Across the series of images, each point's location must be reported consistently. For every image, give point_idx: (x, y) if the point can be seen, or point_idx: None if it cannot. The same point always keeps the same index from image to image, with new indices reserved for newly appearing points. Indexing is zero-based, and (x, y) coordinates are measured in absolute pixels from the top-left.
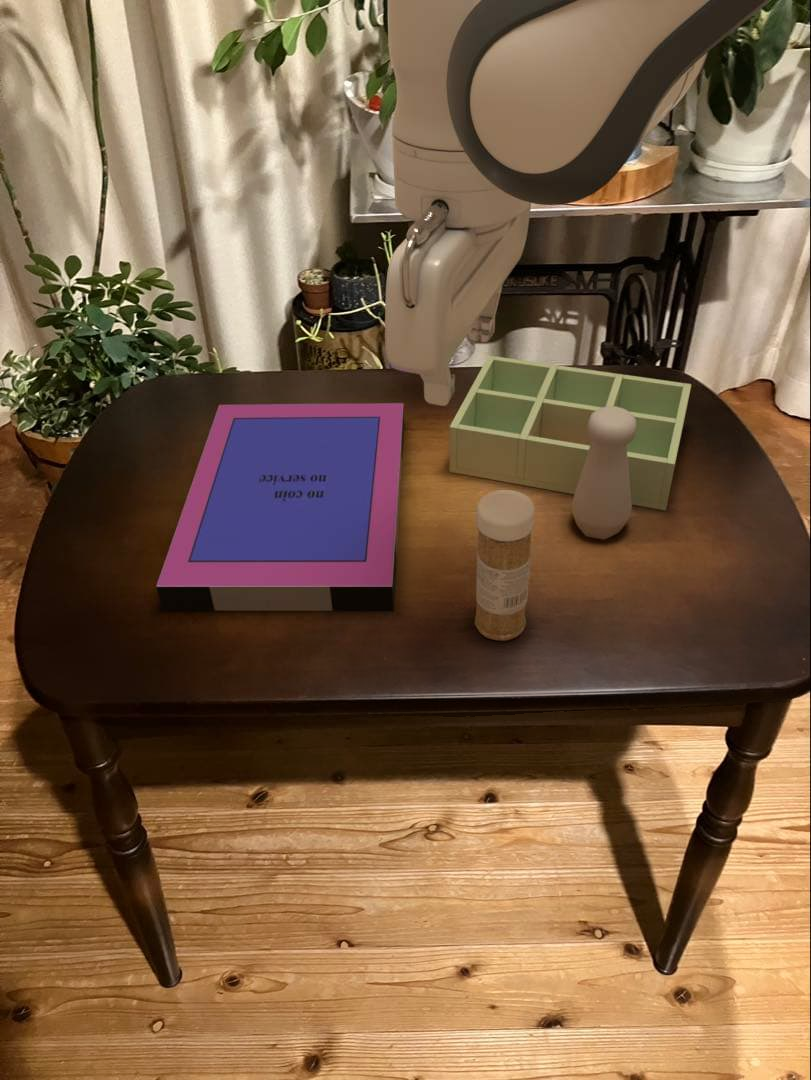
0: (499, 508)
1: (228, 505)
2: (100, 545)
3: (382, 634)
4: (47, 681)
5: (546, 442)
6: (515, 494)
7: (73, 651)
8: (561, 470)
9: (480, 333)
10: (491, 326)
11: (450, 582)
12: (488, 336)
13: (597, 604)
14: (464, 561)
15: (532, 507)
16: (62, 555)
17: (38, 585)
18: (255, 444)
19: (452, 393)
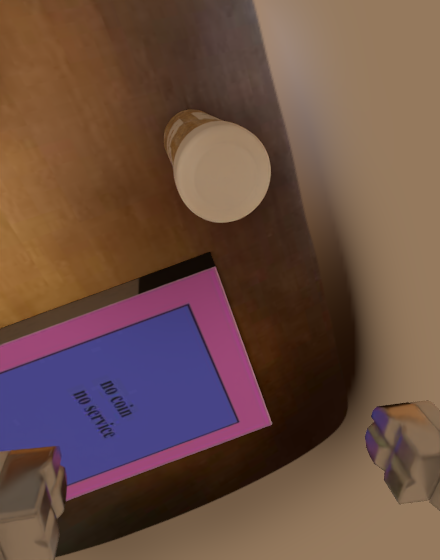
0: (236, 186)
1: (159, 436)
2: (214, 470)
3: (242, 249)
4: (339, 421)
5: None
6: (190, 171)
7: (313, 424)
8: None
9: (52, 486)
10: (15, 489)
11: (148, 214)
12: (52, 461)
13: (111, 18)
14: (108, 211)
15: (217, 130)
16: (231, 480)
17: (263, 473)
18: (61, 465)
19: (406, 412)
